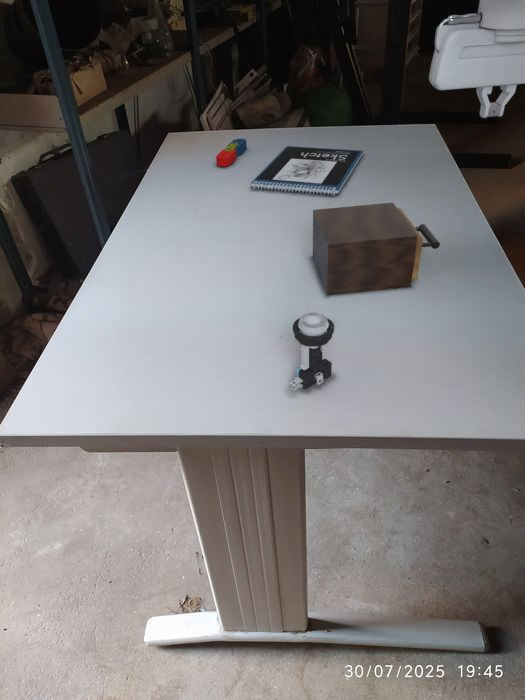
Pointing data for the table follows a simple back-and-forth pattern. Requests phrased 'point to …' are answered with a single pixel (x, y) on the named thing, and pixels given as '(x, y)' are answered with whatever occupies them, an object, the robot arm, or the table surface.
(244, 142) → the multicolored plastic bar
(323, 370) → the push button
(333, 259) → the wooden drawer box
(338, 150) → the sketchbook
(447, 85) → the robot arm
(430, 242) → the wooden pull-out drawer
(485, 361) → the table surface
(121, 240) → the table surface
